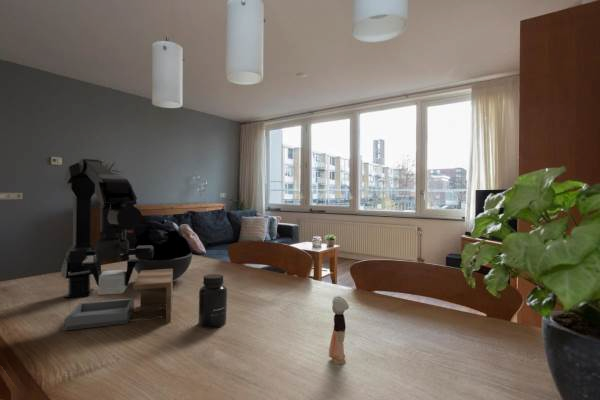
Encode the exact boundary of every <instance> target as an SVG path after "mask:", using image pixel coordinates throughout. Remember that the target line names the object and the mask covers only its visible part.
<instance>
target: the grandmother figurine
mask: <svg viewBox="0 0 600 400" xmlns="http://www.w3.org/2000/svg"><path fill="white" fill-rule="evenodd" d="M349 308H350V305H349V303H348V302H347V300H346V299H345V298H344V297H342V296H341V295H335V296H334V297H333V299H332V312H333V313H334V317H333V330H332V333H331V334H332V335H331V338H330V343H329V349H328V357H329V358H332V359H331V363H332V364H333V363H334V364H333V365H344V363H345V364H346V363H347V361H346V358H345V357H346V355H345V347H344V346H345V345H344V341H345V337H346V328H347V327H346V319H345V314H344V313H345V311H348V310H349Z"/></svg>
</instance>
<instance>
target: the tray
mask: <svg viewBox="0 0 600 400" xmlns="http://www.w3.org/2000/svg"><path fill="white" fill-rule="evenodd" d="M133 310H135V298H133V297H132V298H125V299H124V298H122V299H121V298H120V299H112V300H111V299H110V300H102V301H101V300H100V301H90V302H79V303H78V304H77V305H76V306H75V307H74V309H73V310H71V312H70V313H69V314H68V315H66V317H65V318H64V327H65V329H64V331H73V330H83V329H91V328H100V327H108V326H118V325H123V324H124V325H125V324H126V325H127V324H128V323H129V322H128V321H129V320H131V317H132V314H133V313H134V312H133Z"/></svg>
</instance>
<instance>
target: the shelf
mask: <svg viewBox="0 0 600 400" xmlns="http://www.w3.org/2000/svg"><path fill="white" fill-rule="evenodd" d="M173 285H174V280H173V269H160V270H144V271H141V272H140V273H139V274H138V275H137V277H136V279H135V281H134V282H133V284H132V290H133V291H137V290H139V291H140V295H139V296H140V297H139V298H140V300H139V301H140V305H139V306H140V308H146V307H154V306H155V307H156V306H163V305H165V307H166V310H165V311H166V312H165V313H166V315H165V316H166V319H165V320H166V324H167V323H168V324H169V323H171V322H172V312H173V301H174V300H173V298H174V294H173V293H174V291H173V288H174V286H173Z"/></svg>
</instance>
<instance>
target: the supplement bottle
mask: <svg viewBox="0 0 600 400" xmlns="http://www.w3.org/2000/svg"><path fill="white" fill-rule="evenodd" d="M223 284H224V275H223V274H221V273H212V274H206V275H203V281H202V285H203V286H201V287H200V289H199V290H198V291H199V292H198V325H199V326H200V327H201V328H205V329H216V328H220V327H222V326H224V325H225V324H226V322H227V316H228V315H227V314H228V313H227V312H228V308H227V307H228V289H227V287H226V286H225V285H223Z"/></svg>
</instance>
